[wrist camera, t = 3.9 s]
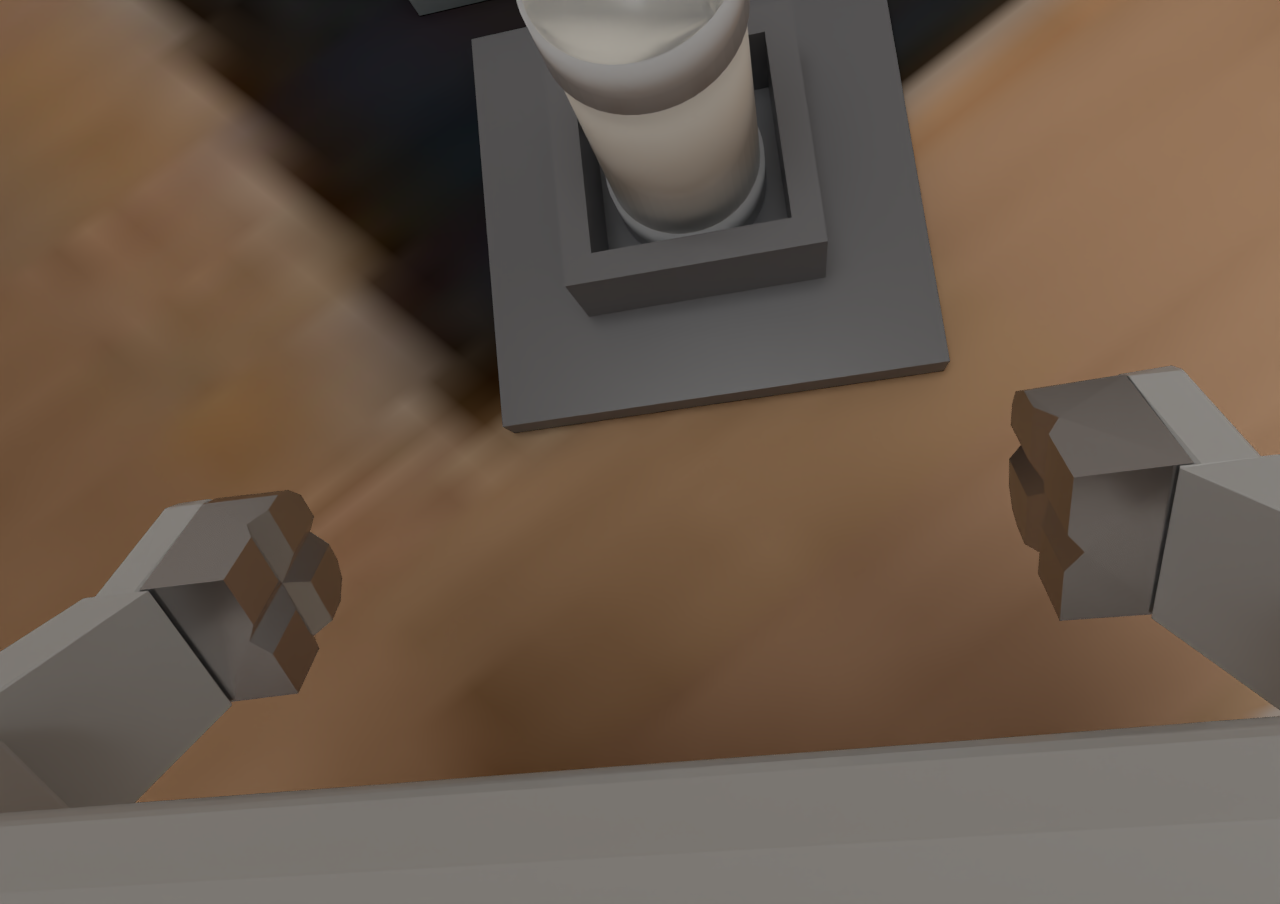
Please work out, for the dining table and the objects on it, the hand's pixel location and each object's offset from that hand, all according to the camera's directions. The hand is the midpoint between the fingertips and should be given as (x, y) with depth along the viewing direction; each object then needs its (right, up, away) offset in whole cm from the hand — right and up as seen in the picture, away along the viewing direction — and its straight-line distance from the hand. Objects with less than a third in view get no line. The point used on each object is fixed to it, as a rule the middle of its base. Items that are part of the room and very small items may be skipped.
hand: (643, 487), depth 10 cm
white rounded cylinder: (+1, +8, +14) cm, 16 cm away
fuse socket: (+2, +8, +15) cm, 17 cm away
